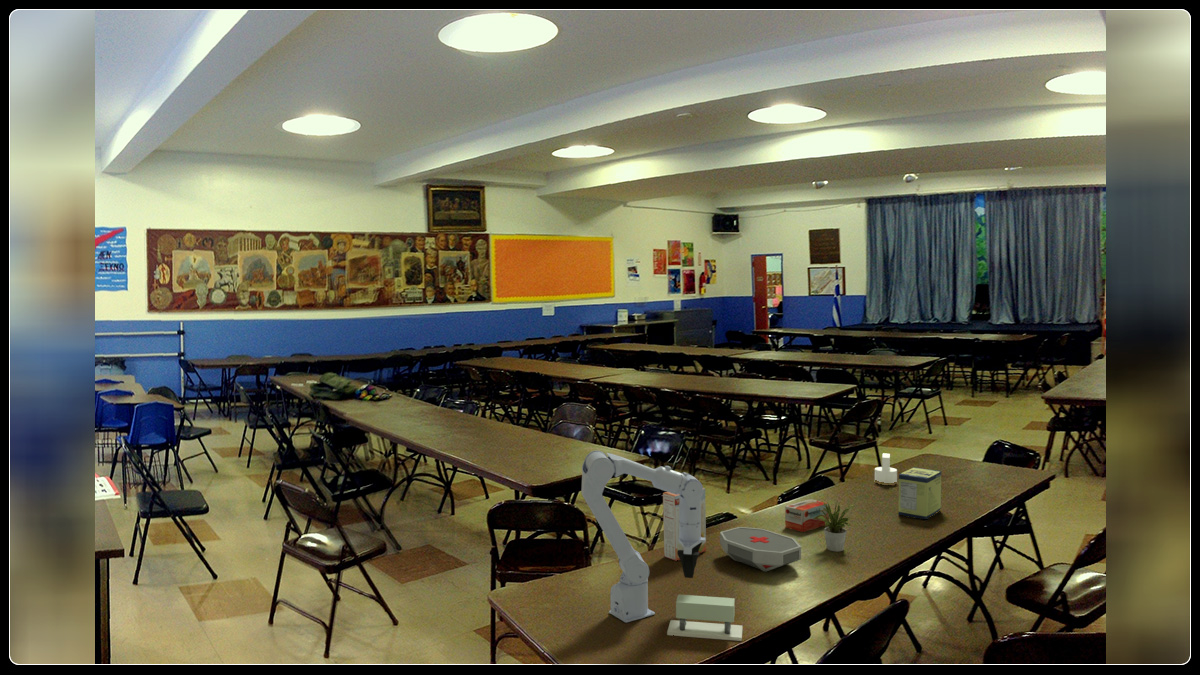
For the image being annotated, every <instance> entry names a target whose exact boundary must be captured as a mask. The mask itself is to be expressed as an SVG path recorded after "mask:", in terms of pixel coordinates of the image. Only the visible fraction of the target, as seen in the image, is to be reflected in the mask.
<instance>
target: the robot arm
mask: <svg viewBox="0 0 1200 675" xmlns="http://www.w3.org/2000/svg"><path fill="white" fill-rule="evenodd" d="M581 474H582V475H581V490H580V491H581V495H582V497H583V499H584V501H585V503H586V504H587V506H588V508H589V509H590V510H591V513H592V514H593V517H594V518H595V519H596V521H597V523H598V524H599V526H600V528H601V530H602V532H603V533H604V535H605V537H606V538H607V540H608V542H609V543H610V545H611V547H612V548H613V550H614V552H615V554H616V555H617V557H618V566H619V568H620V569H621V570H622V573H621V575H620V577H619V580H618V582H617V583H615V584H612V585H611V588H610V610H609V611H608V614H611V615H612V616H613V617H615V618H617V619H618V620H621V621H622V622H624V623H630V622H633V621H637V620H641V619H644V618H646V617H651V616H653V615H655V614H656V612H655V611H653V610H651V609H649V590H648V588H649V586H648V585H649V584H648V583H649V580H648V579H649V576H650V568H649V566H648V564H647V562H646V561H645V560H644V559H643V557H642V555H641V553H640V552H639V551H638V550H636V549H634V547H633V545H632V544H631V543H630V541H629V539H628V537H627V536H626V534H625V532H624V529H622V527H621V525H620V524H619V522H618V520H617V518H616V517H615V515H614V513H613V511H612V509H611V508H610V506H609V504H608V503H607V502H606V501H607V500H606V498H604V496H603V493H604V490H605V487H606V485H607V484H608V482H609V481H611V479H612V477H613V476H614V477H615V478H618V477H619V476H622V475H624V474H625V475H630V476H632V477H636V478H639V479H643V480H646V481H649V482H651V483H652V486H653V488H655V489H658V490H661V491H664V492H670V493H673V494H676V495H678V494H680V495H679V538H678V540H679V542H680V544H681V545H682V546H683V548H684V550H678V551H677V554H678V556H679V558H680V560H679V561H680V564H681V566H682V571H683V572H682V573H683V576H684V578H685V579H686V578H687V579H693V578H694V574H695V568H696V566H697V560H698V558H699V556H700V554H701V553H700V552H698V551H699V548H700V546H701V544H702V542H705V538H702V537H701V498H702V496H703V494H704V489H703V488H704V486H703V484H702V482H701V481H700V480H698V479H697V478H696V477H695V476H693V475H691V474H690V473H688V472H684V471H683V472H679V471H676V470H672V467H671V466H669V465H665V466H661V465H660V466H659V467H656V468H652V467H650V466H647V465H645V464H641V463H639V462H636V461H634V460H632V459H628V458H626V457H623V456H621V455H617V454H614V453H611V452H610V453H609V452H606V453H604V452H603V451H602V450H591V451H590V452H588V454H587V455H585V459H584V461H583V463H582V465H581Z"/></svg>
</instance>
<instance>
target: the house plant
mask: <svg viewBox="0 0 1200 675" xmlns="http://www.w3.org/2000/svg"><path fill="white" fill-rule="evenodd" d="M812 502H813V501H812ZM823 502H824V501H823ZM816 503H817V502H816ZM824 503H825V504H824V505H825V507H826V509H825V508H823V507H822V506H821V505H820V504H819V505H820V506H821V507H822V508H823V510H824V511H826V512H827V513H828V515H829V516H828V515H827V516H828V517H829V520H828V518H827V516H826V514H827V513H826V514H825V513H824V512H823V511H822V510H820V511H822V512H823V514H824V515H825V516H826V518H827V520H828V521H827V520H826V519H825V518H824V517H822V516H820V517H818V518H820V519H823V521H824V522H825V521H826V522H825V526H824V527H825V528H824V529H823V532H824V538H825V544H826V549H827V550H828V551H831V552H843V551H845V550H844V548H845V543H846V538H847V532H848V530H847V529H846V528H845V526H848V527H849V528H851V523H849V521H850V518H849V517H845V515H846V514H847V513H848V512H849V511H850V510H851V511H852V510H854V509H850V508H851V507H853V506H854V505H855V503H853V504H850V505H848V506H847V507H846V508H845V509H844V510H843V511H842V513H841V515H840V512H841V507H842V506H843V504H840V503H839V499H837V500H836V503H835V505H834V512H833V513H832V510H831V506H830V504H829V502H826V501H825V502H824ZM826 503H827V504H828V506H827V504H826ZM839 516H840V517H839Z"/></svg>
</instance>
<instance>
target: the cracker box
mask: <svg viewBox="0 0 1200 675" xmlns="http://www.w3.org/2000/svg"><path fill="white" fill-rule="evenodd" d="M703 489H704V494H703V496H702V498H701V537H702V538H705V542H702V544H701V546H700V548H699V551H698V552H700V553H699V554H701V553H705V552H706V551H707V528H706V527H707V526H706V524H707V523H706V522H707V521H706V520H707V519H706V517H707V515H706V513H707V512H706V511H707V510H706V488H705V487H703ZM679 495H680V494H678V495H676V494H673V493H670V492H667V491H664V492H663V493H662V510H663V512H662V513H663V517H662V518H663V519H662V520H663V521H662V523H663V557H664V558H666V559H669V560H672V561H675V562H677V560H678V561H681V560H680V558H679V556H678V554H677V551H678V550H684V548H683V546H682V545H681V544H680V542H679V540H678V538H679Z"/></svg>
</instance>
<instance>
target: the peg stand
mask: <svg viewBox="0 0 1200 675" xmlns="http://www.w3.org/2000/svg"><path fill="white" fill-rule="evenodd" d="M743 628H744V627H743V625H739V624H732V622H724V623H716V622H715V623H714V622H713V623H712V622H702V621H700V622H699V621H687V619H682V618H679V620H675V619H670V622H669V625H668V628H667V630H666V631H667V632H666V634H667V636H673V635H674V637H675V636H676V637H677V636H678V637H689V638H701V639H713V640H726V641H735V642H737V641H738V642H742V641H743V640H742V639H743Z"/></svg>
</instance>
